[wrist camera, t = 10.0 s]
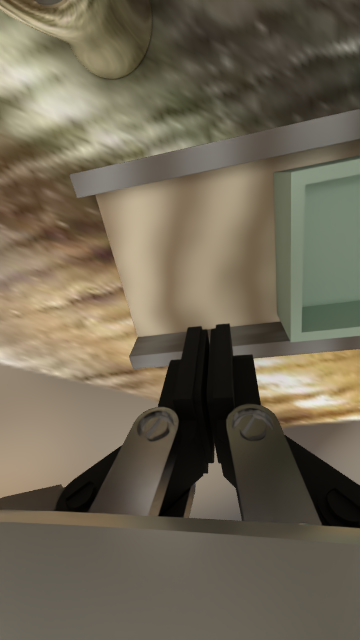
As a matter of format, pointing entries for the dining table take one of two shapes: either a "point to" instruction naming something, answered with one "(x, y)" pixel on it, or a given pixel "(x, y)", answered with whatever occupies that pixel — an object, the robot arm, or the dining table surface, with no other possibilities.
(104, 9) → the beer glass
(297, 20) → the dining table surface
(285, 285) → the box
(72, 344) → the dining table surface
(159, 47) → the dining table surface
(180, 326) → the bay
